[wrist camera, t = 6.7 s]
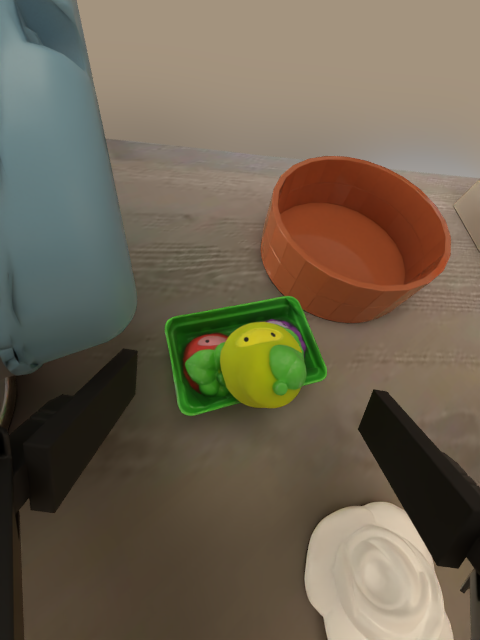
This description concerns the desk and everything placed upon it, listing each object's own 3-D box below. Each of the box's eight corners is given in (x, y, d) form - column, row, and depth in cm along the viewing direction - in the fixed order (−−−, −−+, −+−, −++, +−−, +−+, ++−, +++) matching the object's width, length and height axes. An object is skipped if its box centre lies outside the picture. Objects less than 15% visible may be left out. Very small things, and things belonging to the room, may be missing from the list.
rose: (490, 809, 12) (300, 677, 13) (420, 719, 16) (278, 624, 17) (498, 556, 16) (354, 474, 17) (441, 535, 20) (327, 468, 21)
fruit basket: (281, 318, 27) (324, 242, 17) (313, 403, 24) (392, 371, 14) (170, 341, 25) (145, 269, 15) (188, 440, 21) (171, 435, 11)
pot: (237, 283, 28) (244, 242, 23) (286, 186, 37) (301, 137, 31) (397, 349, 27) (449, 323, 21) (412, 233, 35) (452, 191, 29)
